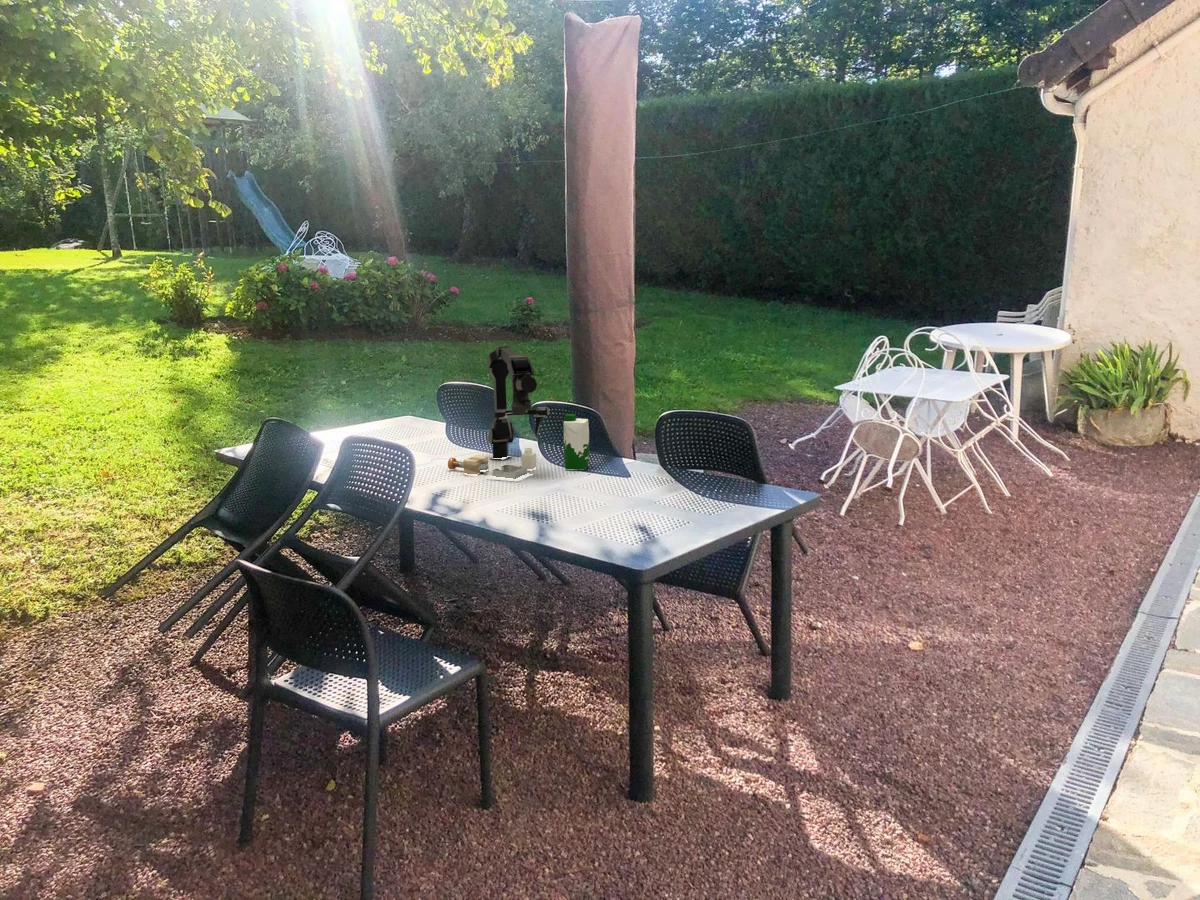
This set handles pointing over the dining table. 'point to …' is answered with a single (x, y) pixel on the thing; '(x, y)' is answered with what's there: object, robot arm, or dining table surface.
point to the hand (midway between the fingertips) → (523, 436)
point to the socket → (510, 471)
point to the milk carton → (576, 442)
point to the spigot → (528, 459)
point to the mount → (474, 464)
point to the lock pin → (461, 464)
